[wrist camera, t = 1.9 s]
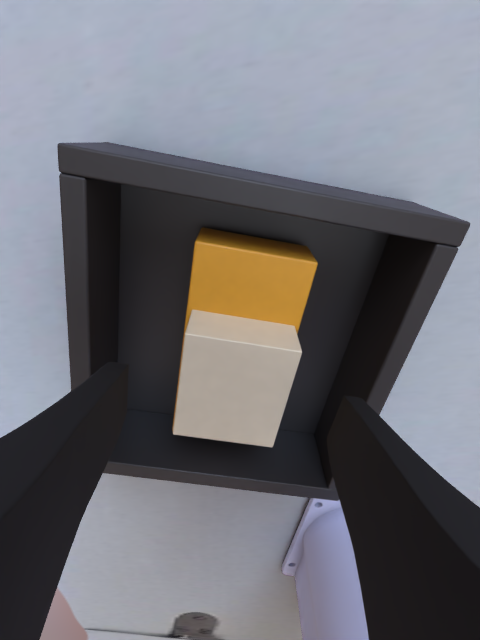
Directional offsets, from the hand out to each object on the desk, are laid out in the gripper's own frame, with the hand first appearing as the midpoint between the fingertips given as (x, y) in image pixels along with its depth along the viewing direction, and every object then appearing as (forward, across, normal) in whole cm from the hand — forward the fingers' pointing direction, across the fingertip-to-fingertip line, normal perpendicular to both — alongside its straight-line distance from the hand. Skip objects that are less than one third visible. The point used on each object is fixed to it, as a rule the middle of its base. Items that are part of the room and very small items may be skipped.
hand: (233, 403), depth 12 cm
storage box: (+6, 0, 0) cm, 6 cm away
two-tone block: (+6, 0, 0) cm, 6 cm away
